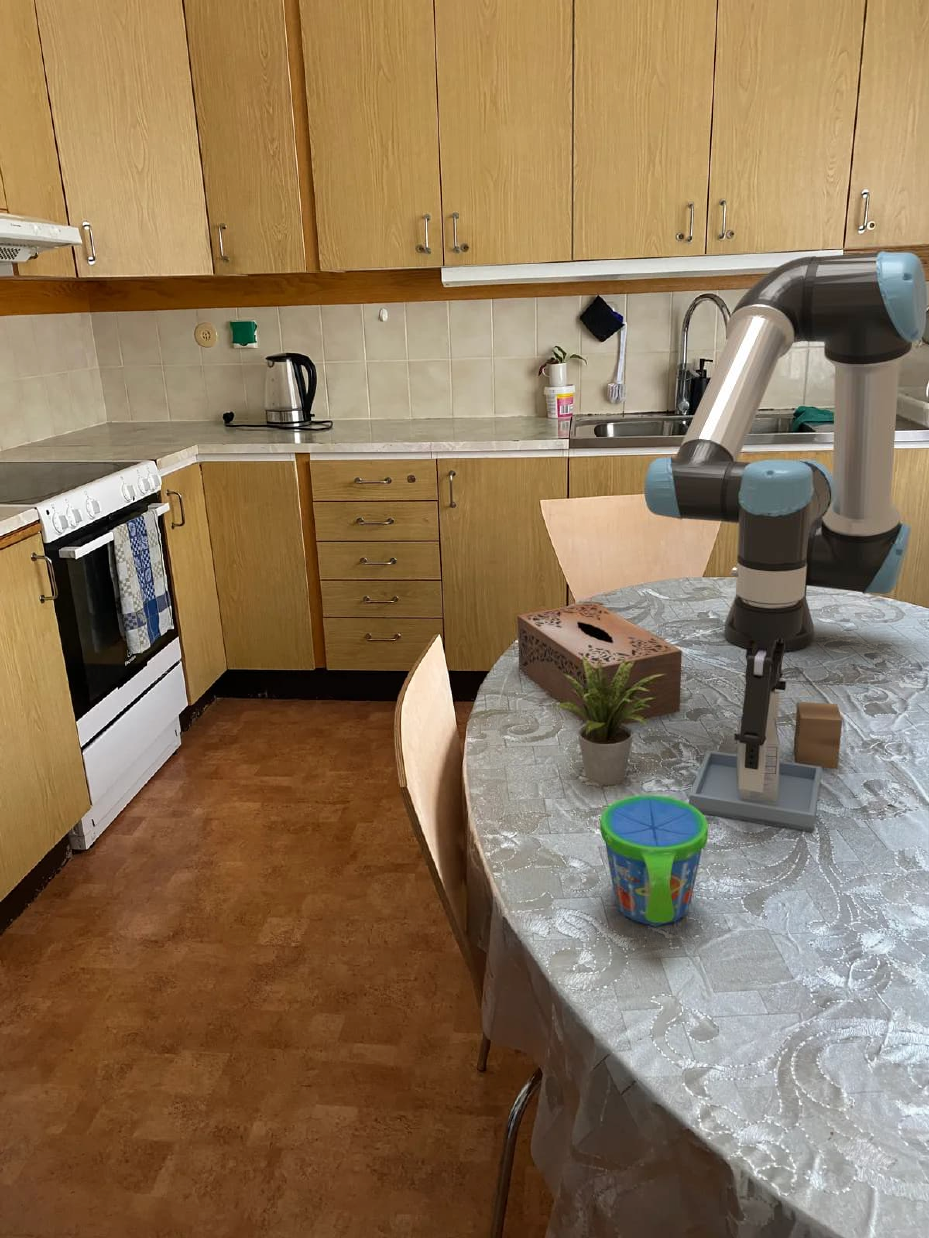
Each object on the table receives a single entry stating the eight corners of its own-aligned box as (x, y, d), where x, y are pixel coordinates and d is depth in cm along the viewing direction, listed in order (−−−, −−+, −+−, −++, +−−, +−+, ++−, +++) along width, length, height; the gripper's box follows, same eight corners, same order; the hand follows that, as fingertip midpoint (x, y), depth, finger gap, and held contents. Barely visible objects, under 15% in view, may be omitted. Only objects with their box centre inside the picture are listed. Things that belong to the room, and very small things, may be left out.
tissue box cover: (519, 671, 158) (517, 615, 155) (594, 656, 163) (594, 601, 160) (594, 732, 135) (594, 668, 132) (679, 712, 140) (681, 650, 137)
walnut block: (793, 748, 128) (797, 701, 125) (832, 751, 126) (837, 703, 124) (796, 766, 123) (800, 717, 121) (837, 769, 122) (842, 720, 120)
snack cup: (605, 858, 105) (606, 778, 102) (702, 866, 103) (705, 784, 100) (594, 950, 91) (594, 860, 88) (706, 961, 89) (710, 869, 85)
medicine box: (777, 810, 112) (781, 745, 109) (738, 807, 113) (741, 742, 110) (771, 777, 119) (776, 715, 116) (735, 775, 120) (738, 714, 117)
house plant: (651, 816, 113) (654, 692, 108) (541, 799, 118) (538, 680, 112) (669, 761, 126) (673, 647, 120) (569, 748, 130) (567, 639, 125)
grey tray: (706, 765, 124) (707, 750, 124) (820, 782, 119) (821, 766, 118) (688, 811, 114) (689, 795, 113) (812, 832, 108) (814, 815, 108)
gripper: (749, 565, 120) (741, 715, 127) (717, 631, 98) (709, 807, 106) (812, 569, 117) (799, 723, 124) (792, 638, 96) (779, 819, 103)
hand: (758, 762), depth 115 cm, fingers open, 13 cm apart
